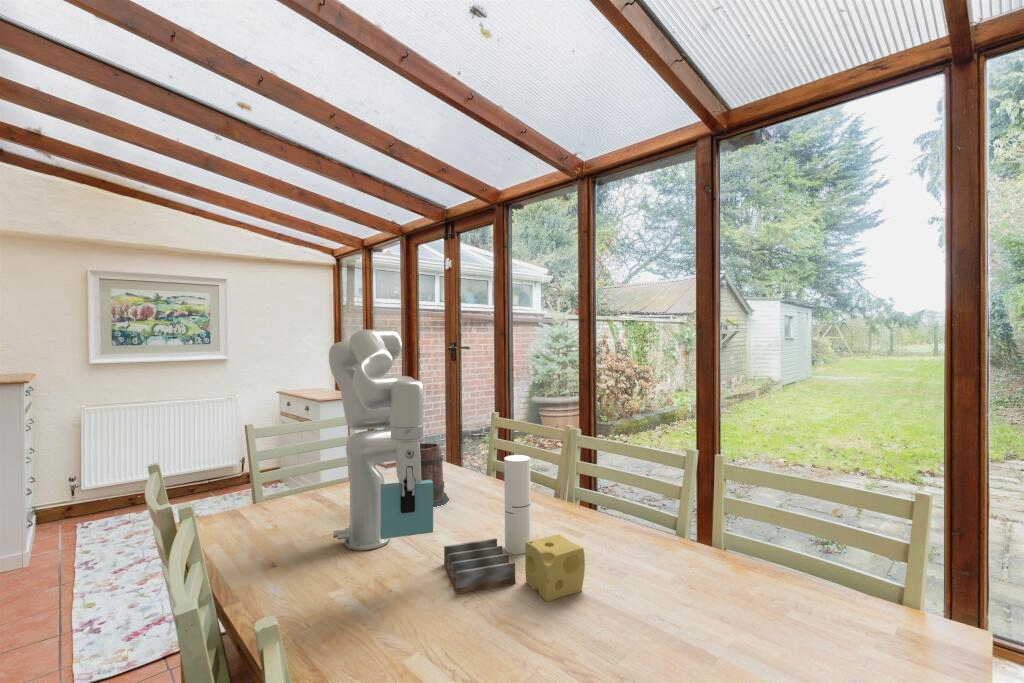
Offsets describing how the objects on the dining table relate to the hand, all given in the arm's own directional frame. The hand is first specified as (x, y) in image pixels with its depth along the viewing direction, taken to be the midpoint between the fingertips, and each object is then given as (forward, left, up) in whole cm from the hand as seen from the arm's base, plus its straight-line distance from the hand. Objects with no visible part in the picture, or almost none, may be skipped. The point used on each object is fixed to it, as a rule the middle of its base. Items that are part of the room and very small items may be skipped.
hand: (406, 509), depth 114 cm
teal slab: (0, 0, -6) cm, 6 cm away
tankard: (+11, +55, -18) cm, 59 cm away
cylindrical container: (+31, +9, -18) cm, 37 cm away
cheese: (+32, -13, -18) cm, 39 cm away
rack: (+17, -1, -18) cm, 25 cm away
